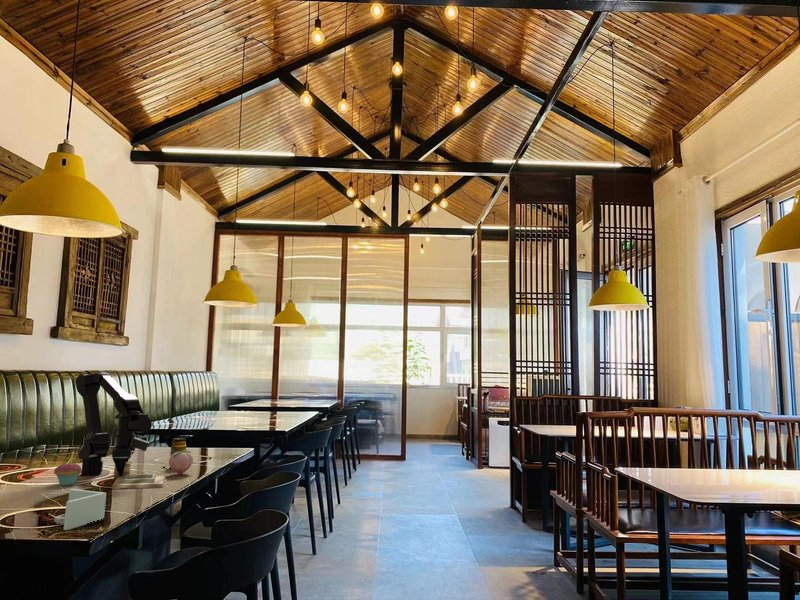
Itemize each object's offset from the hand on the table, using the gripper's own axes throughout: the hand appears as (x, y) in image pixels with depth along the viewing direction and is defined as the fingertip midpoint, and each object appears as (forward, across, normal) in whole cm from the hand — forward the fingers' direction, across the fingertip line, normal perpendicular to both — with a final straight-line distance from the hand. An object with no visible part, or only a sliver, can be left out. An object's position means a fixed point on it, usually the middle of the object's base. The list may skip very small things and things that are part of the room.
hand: (122, 473), depth 209 cm
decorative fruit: (+2, +5, -20) cm, 21 cm away
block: (+2, 0, 0) cm, 2 cm away
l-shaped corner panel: (+3, -61, +7) cm, 62 cm away
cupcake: (+2, -6, +17) cm, 18 cm away
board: (+2, -11, -7) cm, 13 cm away
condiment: (+2, +22, -18) cm, 29 cm away
